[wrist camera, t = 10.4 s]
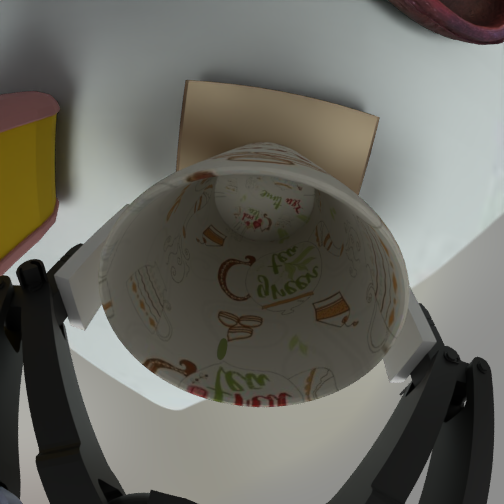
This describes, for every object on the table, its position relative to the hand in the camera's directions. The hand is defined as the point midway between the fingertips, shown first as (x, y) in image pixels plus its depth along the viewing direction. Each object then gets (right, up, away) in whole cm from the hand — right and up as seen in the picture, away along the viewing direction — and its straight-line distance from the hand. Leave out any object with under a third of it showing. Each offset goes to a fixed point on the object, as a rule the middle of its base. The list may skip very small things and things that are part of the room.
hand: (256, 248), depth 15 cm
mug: (0, +1, +2) cm, 2 cm away
